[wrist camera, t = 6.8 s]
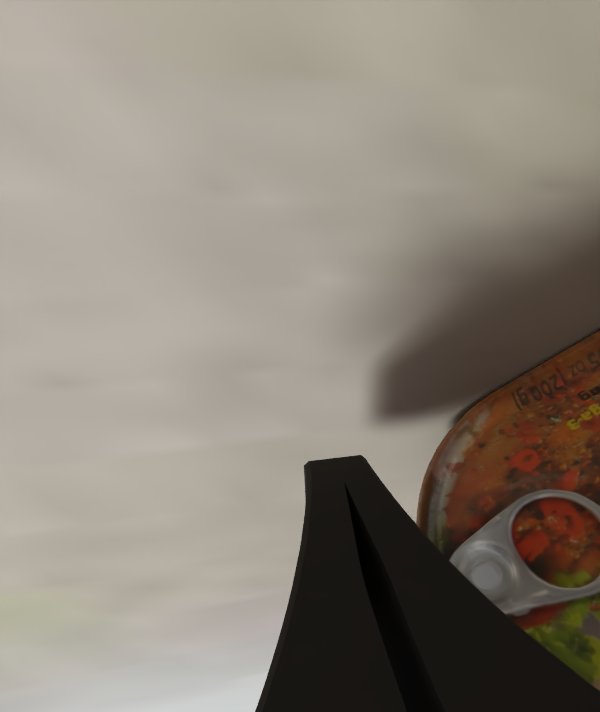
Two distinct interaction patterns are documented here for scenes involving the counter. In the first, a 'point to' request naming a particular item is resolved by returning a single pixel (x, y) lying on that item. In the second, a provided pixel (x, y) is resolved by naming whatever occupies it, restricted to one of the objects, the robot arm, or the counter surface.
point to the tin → (529, 503)
